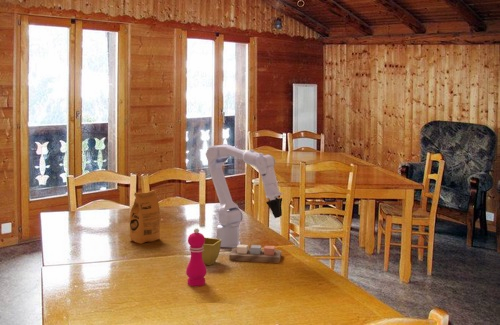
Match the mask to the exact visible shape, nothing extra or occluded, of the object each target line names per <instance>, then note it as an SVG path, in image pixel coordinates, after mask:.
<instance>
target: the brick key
mask: <svg viewBox="0 0 500 325" xmlns="http://www.w3.org/2000/svg"><path fill="white" fill-rule="evenodd" d="M263 249H264V255H274V254H275V250H276V246H275V245H264V246H263Z"/></svg>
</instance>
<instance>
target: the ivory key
mask: <svg viewBox="0 0 500 325" xmlns="http://www.w3.org/2000/svg"><path fill="white" fill-rule="evenodd" d="M248 249H249V245H248V244H238V246H237V253H241V254H247V253H248Z"/></svg>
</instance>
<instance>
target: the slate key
mask: <svg viewBox="0 0 500 325" xmlns="http://www.w3.org/2000/svg"><path fill="white" fill-rule="evenodd" d="M249 249H250V254H261V249H262V245H260V244H258V245H257V244H251V245H250V248H249Z"/></svg>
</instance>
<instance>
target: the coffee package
mask: <svg viewBox="0 0 500 325" xmlns="http://www.w3.org/2000/svg"><path fill="white" fill-rule="evenodd" d="M134 197H135V199H134V201H133V205H132V206H131V209H130V212H129V238H130V241H132V242H135V243H136V244H144V243H146V242H147V243H148V242H150V243H151V242H156V241H157V240H160V239H161V215H160V214H161V212H160V203H159V200H158V197H157V193H156V190H155V189H152V190H150V191H148V192H134Z"/></svg>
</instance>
